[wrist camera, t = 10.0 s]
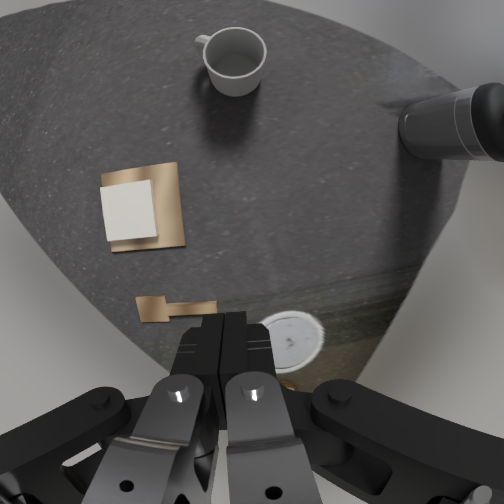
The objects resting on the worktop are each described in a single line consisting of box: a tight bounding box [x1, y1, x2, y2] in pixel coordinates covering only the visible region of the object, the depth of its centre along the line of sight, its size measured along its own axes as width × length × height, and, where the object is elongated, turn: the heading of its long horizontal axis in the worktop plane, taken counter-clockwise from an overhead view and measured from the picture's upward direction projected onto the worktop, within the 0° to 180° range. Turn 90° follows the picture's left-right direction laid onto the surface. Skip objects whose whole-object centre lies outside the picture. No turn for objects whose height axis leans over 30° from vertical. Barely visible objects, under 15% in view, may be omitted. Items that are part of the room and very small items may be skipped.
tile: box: [100, 179, 159, 241], centre depth 39 cm, size 1×8×8 cm
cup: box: [194, 27, 266, 97], centre depth 31 cm, size 7×10×9 cm
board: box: [101, 162, 186, 252], centre depth 40 cm, size 12×12×1 cm
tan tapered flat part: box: [136, 296, 218, 322], centre depth 44 cm, size 13×4×1 cm, turn 94°
